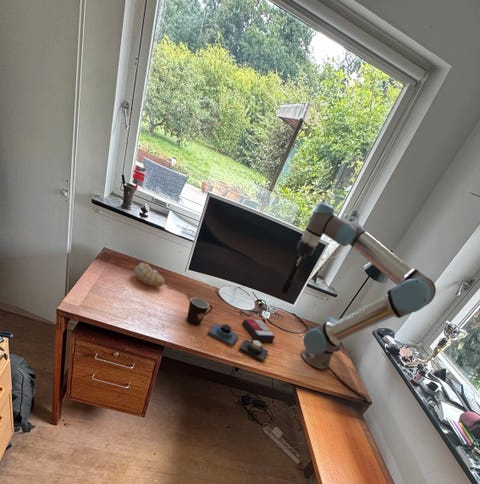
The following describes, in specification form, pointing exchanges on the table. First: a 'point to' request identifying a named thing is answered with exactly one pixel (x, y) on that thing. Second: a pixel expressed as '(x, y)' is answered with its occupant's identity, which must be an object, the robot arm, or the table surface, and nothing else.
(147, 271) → the nautilus
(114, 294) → the table surface
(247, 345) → the black key block
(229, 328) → the dark key
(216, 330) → the blue key block
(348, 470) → the table surface
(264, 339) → the calculator
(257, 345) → the cream key
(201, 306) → the coffee mug
